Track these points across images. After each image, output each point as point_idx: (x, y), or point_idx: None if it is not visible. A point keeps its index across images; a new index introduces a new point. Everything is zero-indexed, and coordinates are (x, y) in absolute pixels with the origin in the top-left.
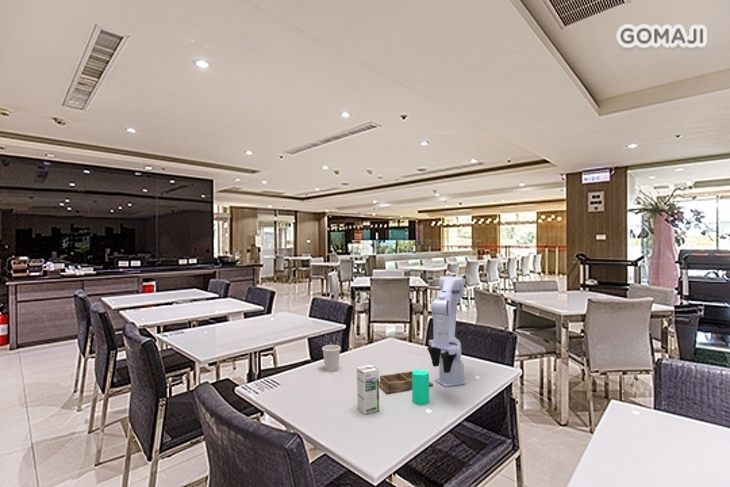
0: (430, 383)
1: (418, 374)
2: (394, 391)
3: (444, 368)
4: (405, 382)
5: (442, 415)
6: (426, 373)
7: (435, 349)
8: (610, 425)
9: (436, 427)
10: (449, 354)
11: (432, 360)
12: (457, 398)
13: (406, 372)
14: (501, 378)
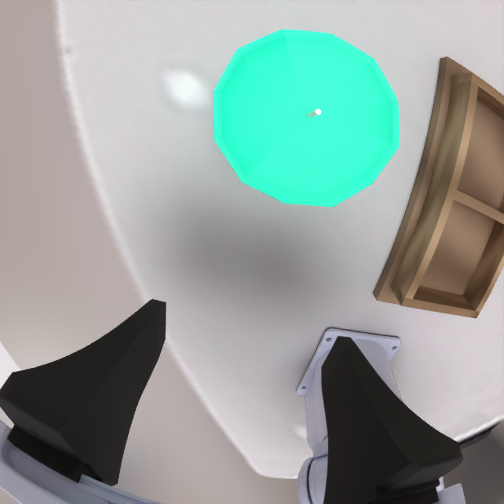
0: (387, 295)
1: (301, 80)
2: (440, 92)
3: (132, 316)
4: (451, 164)
5: (120, 117)
6: (273, 171)
7: (358, 487)
8: None
9: (76, 49)
10: (18, 428)
11: (360, 369)
12: (213, 288)
13: (502, 259)
14: (255, 451)
